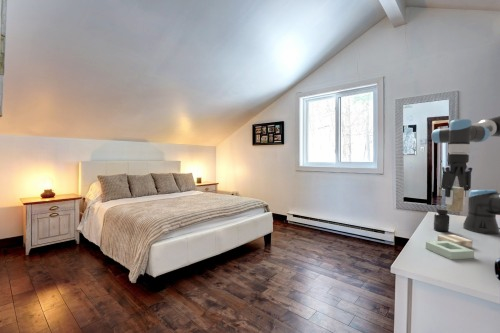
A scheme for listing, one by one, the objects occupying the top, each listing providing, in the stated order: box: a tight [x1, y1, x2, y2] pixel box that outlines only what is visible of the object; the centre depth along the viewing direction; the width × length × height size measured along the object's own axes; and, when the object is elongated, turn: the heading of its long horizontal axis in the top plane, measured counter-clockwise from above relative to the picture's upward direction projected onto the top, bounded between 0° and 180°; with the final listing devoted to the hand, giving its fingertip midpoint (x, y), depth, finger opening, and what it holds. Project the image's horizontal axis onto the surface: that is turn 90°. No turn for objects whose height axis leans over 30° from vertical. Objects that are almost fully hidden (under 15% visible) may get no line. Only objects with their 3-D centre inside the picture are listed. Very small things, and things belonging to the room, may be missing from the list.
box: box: [445, 186, 464, 213], centre depth 116 cm, size 5×4×11 cm
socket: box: [425, 240, 475, 260], centre depth 108 cm, size 11×12×3 cm
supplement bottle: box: [433, 208, 450, 233], centre depth 141 cm, size 7×7×12 cm
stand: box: [437, 234, 473, 249], centre depth 119 cm, size 9×9×3 cm
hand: (454, 204), depth 116 cm, fingers closed on box, 6 cm apart
